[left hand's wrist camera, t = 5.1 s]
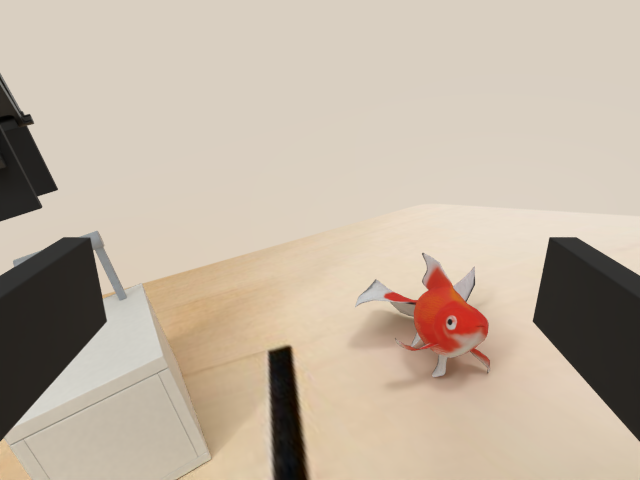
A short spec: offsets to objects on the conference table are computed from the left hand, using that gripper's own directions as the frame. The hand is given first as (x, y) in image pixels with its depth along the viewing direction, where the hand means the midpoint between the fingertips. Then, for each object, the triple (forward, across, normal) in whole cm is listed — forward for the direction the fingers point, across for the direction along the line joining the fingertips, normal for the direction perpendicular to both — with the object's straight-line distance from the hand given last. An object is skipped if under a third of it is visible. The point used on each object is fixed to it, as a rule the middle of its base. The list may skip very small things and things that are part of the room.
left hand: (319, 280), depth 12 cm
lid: (+19, -19, -15) cm, 31 cm away
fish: (+21, +10, -17) cm, 29 cm away
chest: (+18, -16, -24) cm, 34 cm away
